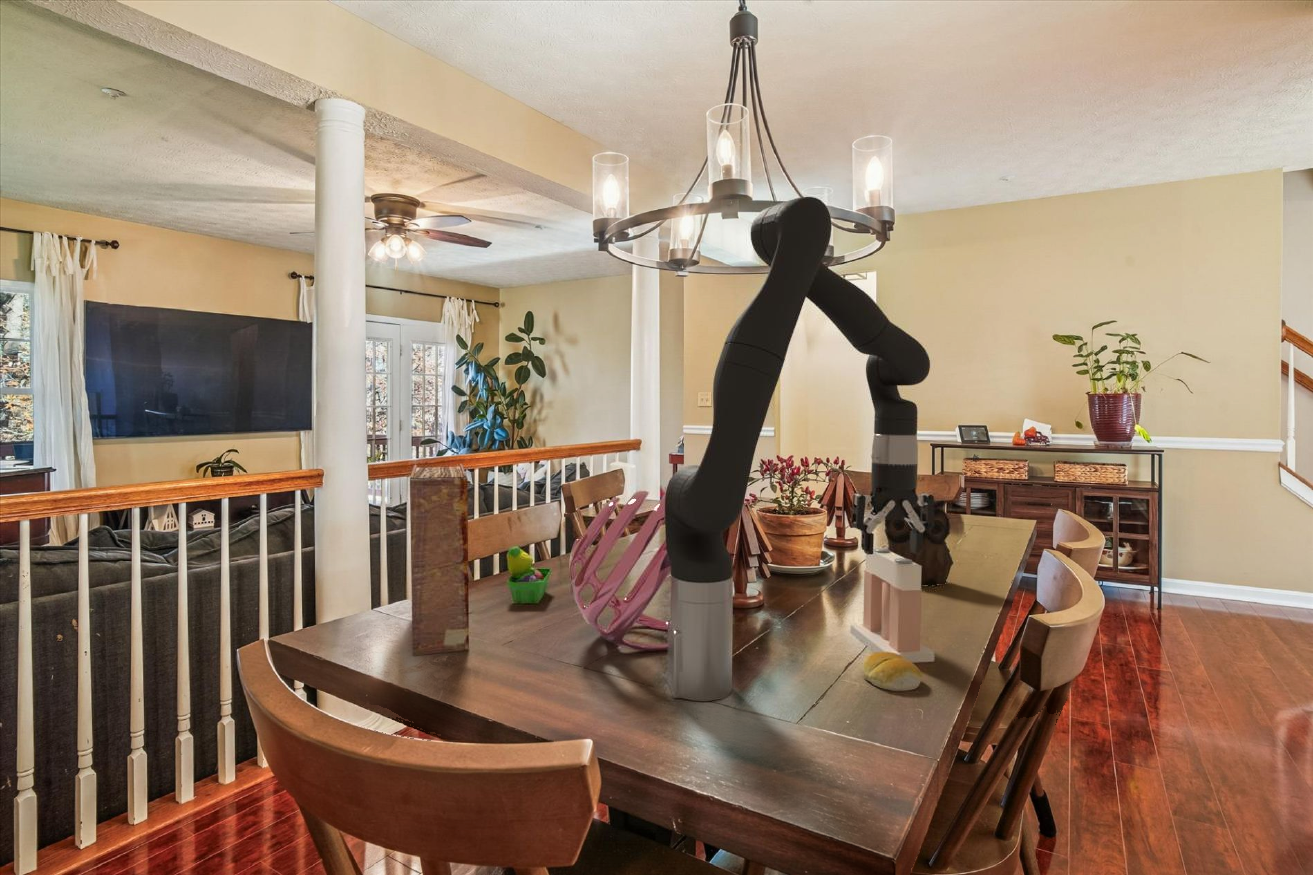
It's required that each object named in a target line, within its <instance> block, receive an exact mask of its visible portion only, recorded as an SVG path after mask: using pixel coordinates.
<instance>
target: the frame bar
mask: <svg viewBox="0 0 1313 875" xmlns="http://www.w3.org/2000/svg"><path fill="white" fill-rule="evenodd" d="M864 567H865V569H864V570H867V571H869V572H871V573H872V574H874V575H876V576H878V577H879V578H881V579H883V580H885V581H886V582H888V583H890V584H892V585H893V586H895V587H897V588H899V589H900V590H902V591H908V590H921V589H922V586H921V566H920V565H918V564H916V563H914V562H912V560H910V559H905V558H903V557H901V556H899V555H897V554H895V553H893V552H891V551H890V550H889V549H888V548H884V547H873V554H872V555H868V554H866V553H865V566H864Z"/></svg>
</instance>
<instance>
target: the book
mask: <svg viewBox="0 0 1313 875" xmlns="http://www.w3.org/2000/svg"><path fill="white" fill-rule="evenodd" d="M413 465H414V466H413V467H412V472H411V473H410V477H409V509H410V510H409V511H410V512H409V513H410V514H409V515H410V517H409V518H410V519H409V520H410V572H411V581H410V582H411V626H412V627H411V629H412V630H411V631H412V632H411V633H412V634H411V636H412V639H411V641H412V643H411V644H412V656H423V655H430V654H431V655H432V654H441V653H453V652H458V651H459V652H461V651H469V650H470V628H469V627H470V626H469V623H470V618H469V617H470V616H469V614H470V613H469V612H470V611H469V606H470V605H469V602H470V601H469V600H470V599H469V519H468V518H469V508H468V507H469V506H468V505H469V504H468V503H469V500H468V498H469V497H468V496H469V492H468V489H469V488H468V487H469V486H468V484H469V483H468V477H467V474H466V471H465V468H464V465H463V463H459V466H435V467H433V466H432V467H431V466H430V467H418V465H417V464H413Z"/></svg>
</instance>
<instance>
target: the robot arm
mask: <svg viewBox="0 0 1313 875" xmlns="http://www.w3.org/2000/svg"><path fill="white" fill-rule="evenodd" d="M831 236H832V218H831V213H830V211H829V208H828V207H827V205H826V204H825V203H824V202H823V201H822V200H821V199H819V198H818V197H815V196H814V197H813V196H801V197H797V198H793V199H789V200H787V201H783V202H779V203H777V204H774V205H772V206H769V207H767V208H764V209H763V210H761V211H760V212H758V214H757V215H755V217H754V219H753V221H752V223H751V226H750V241H751V245H752V247H753V250H754V252H755V253H756V255H757V256H758V257H759V258H760V259H761V261H762V262H764V263H765V264H766V265H767V266H768V267H769V271H768V273H767V275H766V278H765V280H764V281H763V283H762V285H761V287H760V288H759V290H758V291H757V292H756V294H755V296H754V297H753V298H752V299H751V300H750V302H749V303H748V304H747V306H746V307H745V308H744V309H743V311H742V312H741V313H740V315H739V316H738V317H737V319H736V321H735V322H734V324H732V327H731V328H730V330H729V332H728V334H727V336H726V338H725V341H724V343H723V347H722V350H721V353H720V356H719V358H718V362H717V364H716V368H715V371H714V376H713V377H714V378H713V386H712V408H713V412H712V414H713V415H712V416H713V418H712V428H711V431H710V432H711V434H710V437H709V440H708V443H707V446H706V449H705V451H704V454H703V457H702V459H701V462H700V464H699V465H696V464H695V465H686V466H684V467H681V468H680V469H678V470H677V471H676V472H674V474H673V475H672V476H671V478H670V479H669V481H668V484H667V486H666V490H665V494H666V495H665V521H664V528H665V529H664V530H665V531H664V532H665V540H666V550H667V554H668V558H669V561H670V567H671V572H670V601H669V602H670V607H669V608H670V610H669V612H670V615H669V616H670V617H669V618H670V619H669V620H668V621H667V622H668V630H667V643H668V649H667V684H668V687H669V689H670V692H671V694H672V697H673V698H674V699H684V700H689V701H695V702H696V701H697V702H708V701H709V702H710V701H717V700H721V699H723V698H726V697H727V696H728V695H730V694H731V692H732V689H733V688H732V687H733V686H732V684H733V602H734V601H733V596H734V595H733V593H734V592H733V591H734V586H733V584H734V579H733V578H734V560H733V557H732V556H731V554H730V552H729V550H728V549H727V547H726V545H725V542H724V539H723V533H724V532H725V531H727V530H728V529H730V528H731V527H732V526H733V525H734V524H735V523H736V521H737V519H738V518H739V515H740V514H741V512H742V508H743V506H744V502H745V499H746V494H747V490H748V484H749V479H750V475H751V470H752V465H753V462H754V457H755V452H756V448H757V445H758V442H759V438H760V435H761V432H762V430H763V427H764V424H765V420H766V418H767V414H768V410H769V407H770V404H771V400H772V397H773V395H774V392H775V390H776V388H777V384H778V382H779V379H780V376H781V373H782V369H783V366H784V363H785V361H786V357H787V353H788V350H789V346H790V343H791V340H792V339H793V338H792V337H793V335H794V331H795V329H796V326H797V323H798V321H799V318H800V315H801V312H802V309H803V306H804V302H805V301H806V298H807V300H809V301H810V302H811V303H812V304H814V305H815V306H816V307H817V308H818V309H819V310H820V311H821V312H822V313H823V314H824V315H825V316H826V317H827V318H828V319H829V320H830V321H831V322H832V324H833V325H834V326H835V327H836V328H837V329H838V330H839V331H840V333H841V334H842V336H844V337H845V338H846V340H848V342H849V343H850V344H851V345H852V347H853V348H854V349H855V350H856V351H858V352H859V353H861V354H863V355H867V356H868V357H867V359H866V364H865V375H866V381H867V385H868V390H869V393H870V397H871V401H872V405H873V409H874V421H873V422H874V425H873V439H872V445H871V446H872V447H871V455H870V456H871V473H870V474H871V475H870V476H871V477H870V479H871V480H870V485H871V490H870V493H869V495H868V494H861V493H858V492H855V493H854V494H853V496H852V504H851V505H852V506H851V514H850V515H851V517H850V518H851V519H850V526H851V527H852V528H854V529H857V530H859V531H860V532H861V537H860V538H861V539H860V540H861V542H860V544H861V546H860V548H861V549H862V551H863V552H864V553H865V555H866V554H868V555H872V554H873V548H874V538H875V537H874V536H875V534H874V533H873V532H874V530H875V529H876V528H877V526H878V525H880V524H882V522H883V521H884V520H885V519H887V520H892V519H895V518H896V519H905V520H906V521H907V522H908V524H909V525H910V527H911V528H912V531H910V552H912V553H914V554H919V553H920V550H922V545H923V532H924V531H925V530H927V529H929V528H930V529H932V528H934V526H935V522H934V501H935V497H934V495H933V494H930V493H928V492H927V493H926V492H922V493H921V494H917V492H916V490H917V488H918V465H919V464H918V462H919V461H918V460H919V445H918V407H917V404H916V403H915V402H914V401H911V400H908V399H904V398H903V397H902V396H901V394H900V391H899V388H898V386H899V387H900V386H901V387H902V386H907V387H908V386H916V385H919V384H920V383H923V382H924V381H925V380H926V378H928V375H929V373H930V369H931V360H930V357H929V354H928V352H927V349H925V348H924V346H923V345H922V343H920V342H919V341H918V340H917V339H915V337H913V336H912V335H910V334H909V333H907V332H906V331H905V330H903V329H902V328H900V327H899V326H897V325H896V324H894V323H893V322H891V321H890V320H889V318H888V317H887V315H885V313H884V312H883V311H882V309H881V308H880V307H879V305H878V304H877V303H876V301H874V299H873V298H872V297H871V296H870V295H869V294H868V293H866V292H865V291H864V290H862V288H860V287H858V286H857V285H855V284H854V283H853V282H851V281H849V280H848V279H846V278H844V277H843V276H841V275H840V274H838V273H836V272H835V271H834V270H832V269H830V268H829V267H828V266H826V264H824V263H823V262H822V261H823V260H824V257H825V255H826V252H827V249H828V247H829V245H830V241H831ZM917 502H918V504H919V505H920V508H921V522H920V520H919V517H918V516H917V514H916V513H915V511H914V510H913V508H914V506H915V505H916V503H917ZM869 503H870V504H871V506H872V508H871V509H870V510H869V512H868V513H867V514H866V517H865V512H866V511H865V510H866V508H867V507H868V504H869Z"/></svg>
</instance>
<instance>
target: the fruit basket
mask: <svg viewBox="0 0 1313 875" xmlns="http://www.w3.org/2000/svg"><path fill="white" fill-rule="evenodd" d="M506 560H507V569H508V572H509V573H510V574H511V576H510V577H509V578H508V579H507V585H508V587H509V589H510V594H511V598H512V601H513V603H514V604H516V605H517V604H524V603H531V604H534V603H538V604H539V603H540V601H541V600H542V598H543V596H544V594H545V593H546V592H547V587H548V582H549V579H550V575H551V573H552V569H551V568H548V567H546V568H545V567H537V568H536V567H532V565H533V563H534V559H533V557H532V556H531V555H529V554H528V553H527V552H526V551H524V550H523V549H521V548H520V547H519V546H513V547H509V548H508V552H507V554H506Z"/></svg>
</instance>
